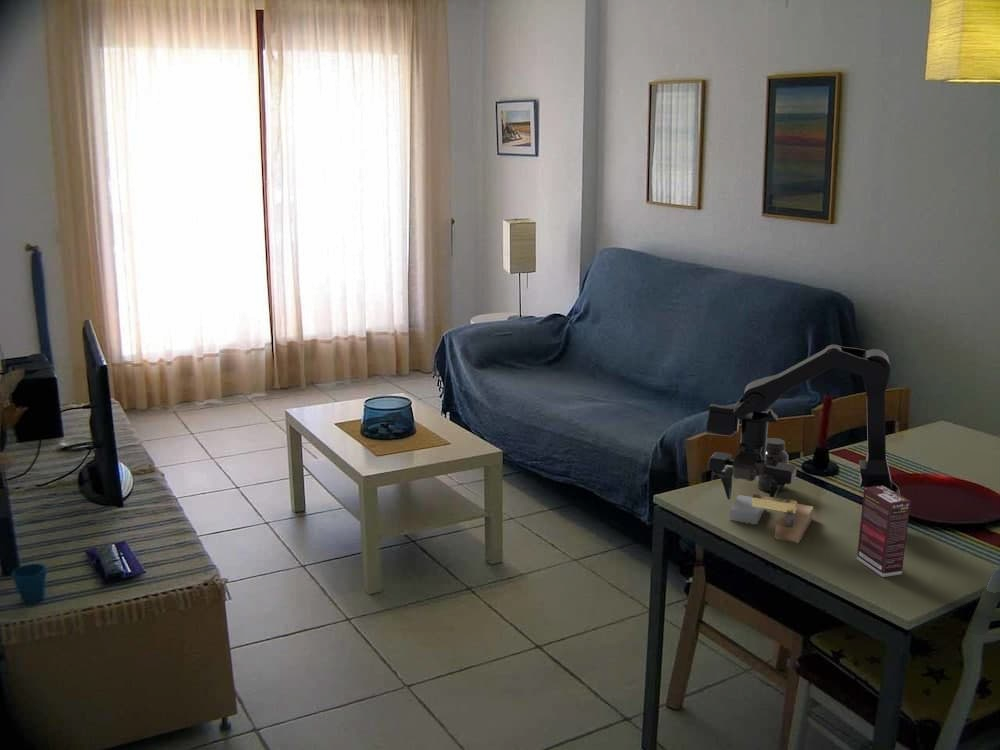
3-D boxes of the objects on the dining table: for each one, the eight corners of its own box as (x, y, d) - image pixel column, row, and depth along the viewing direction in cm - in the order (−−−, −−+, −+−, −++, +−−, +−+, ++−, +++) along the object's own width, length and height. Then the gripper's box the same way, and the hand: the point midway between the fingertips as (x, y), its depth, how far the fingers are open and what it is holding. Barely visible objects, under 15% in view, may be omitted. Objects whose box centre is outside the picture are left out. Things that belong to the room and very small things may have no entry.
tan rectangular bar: (753, 502, 209) (754, 493, 208) (797, 509, 205) (798, 501, 205) (751, 506, 207) (752, 497, 206) (795, 514, 203) (796, 505, 203)
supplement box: (903, 574, 190) (912, 500, 186) (882, 578, 189) (891, 503, 185) (875, 555, 198) (883, 484, 194) (855, 558, 197) (862, 486, 193)
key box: (812, 519, 216) (814, 493, 214) (798, 543, 204) (801, 516, 202) (789, 514, 218) (791, 489, 216) (774, 538, 206) (776, 511, 205)
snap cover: (764, 511, 221) (765, 499, 220) (756, 526, 213) (757, 514, 212) (738, 506, 223) (738, 494, 223) (729, 521, 216) (730, 509, 215)
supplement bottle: (786, 494, 229) (790, 447, 226) (757, 492, 231) (760, 445, 227) (784, 483, 236) (788, 437, 233) (755, 481, 237) (759, 435, 234)
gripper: (702, 442, 212) (698, 507, 216) (787, 456, 203) (782, 524, 208) (716, 427, 221) (712, 490, 226) (799, 440, 213) (793, 505, 217)
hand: (749, 502), depth 219 cm, fingers open, 9 cm apart
